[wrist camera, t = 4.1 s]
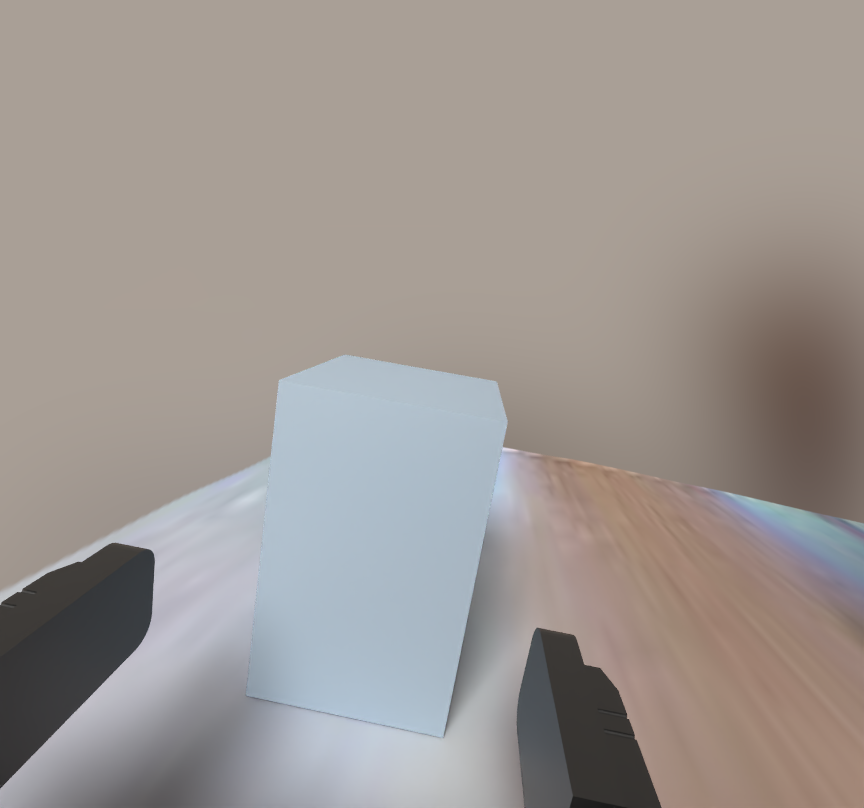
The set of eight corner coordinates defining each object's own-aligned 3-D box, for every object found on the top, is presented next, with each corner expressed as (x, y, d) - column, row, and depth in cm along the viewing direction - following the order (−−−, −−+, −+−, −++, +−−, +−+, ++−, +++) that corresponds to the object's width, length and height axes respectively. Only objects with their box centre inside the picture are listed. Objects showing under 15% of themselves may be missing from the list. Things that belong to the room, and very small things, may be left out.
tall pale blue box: (315, 576, 23) (344, 354, 20) (453, 604, 22) (496, 381, 20) (245, 695, 16) (278, 380, 14) (443, 738, 15) (507, 421, 13)
